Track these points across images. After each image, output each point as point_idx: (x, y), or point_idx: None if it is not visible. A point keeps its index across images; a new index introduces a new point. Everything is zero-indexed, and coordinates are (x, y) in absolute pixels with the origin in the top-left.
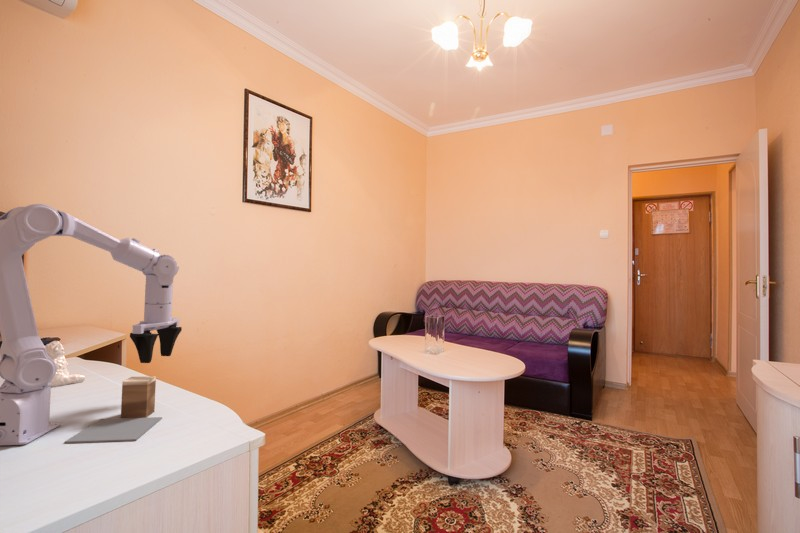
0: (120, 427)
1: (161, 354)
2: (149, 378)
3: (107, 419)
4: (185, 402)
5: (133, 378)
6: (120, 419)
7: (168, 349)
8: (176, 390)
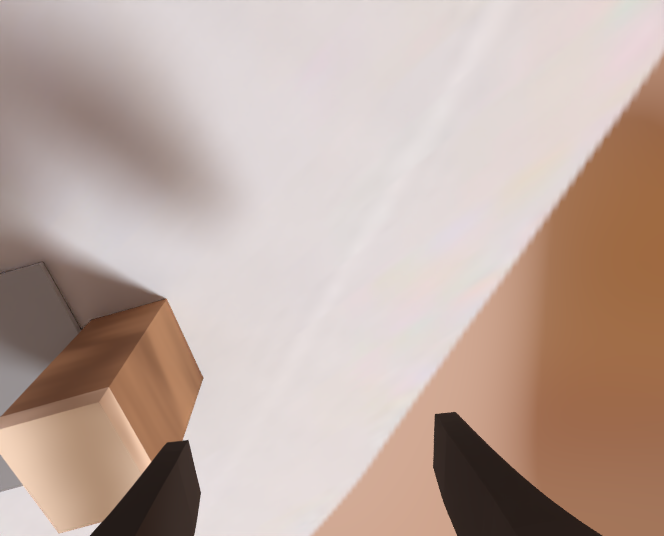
0: (6, 398)
1: (440, 422)
2: (109, 506)
3: (46, 294)
4: (330, 412)
5: (69, 438)
6: (67, 340)
7: (455, 509)
8: (488, 276)
